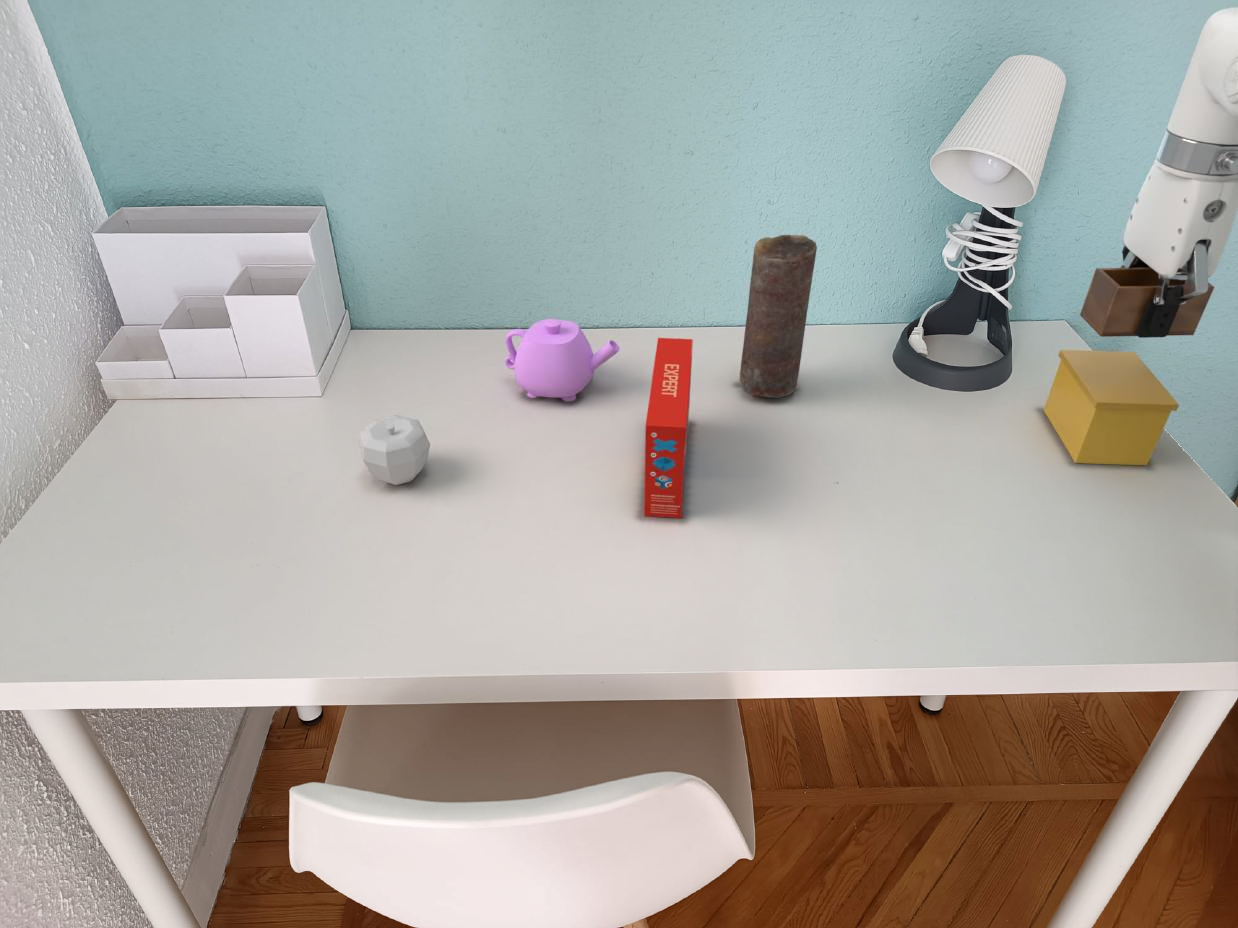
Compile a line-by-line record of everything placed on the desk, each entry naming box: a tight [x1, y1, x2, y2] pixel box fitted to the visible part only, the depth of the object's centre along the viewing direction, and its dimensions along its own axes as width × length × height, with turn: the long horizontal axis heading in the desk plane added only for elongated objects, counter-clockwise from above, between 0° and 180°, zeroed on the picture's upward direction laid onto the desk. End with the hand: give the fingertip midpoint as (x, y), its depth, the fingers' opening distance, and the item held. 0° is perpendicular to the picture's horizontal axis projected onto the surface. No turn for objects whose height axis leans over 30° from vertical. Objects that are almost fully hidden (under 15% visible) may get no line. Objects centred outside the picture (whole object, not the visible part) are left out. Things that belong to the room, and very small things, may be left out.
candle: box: [739, 234, 818, 399], centre depth 106 cm, size 8×7×20 cm
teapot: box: [504, 318, 621, 402], centre depth 110 cm, size 10×15×9 cm
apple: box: [357, 414, 431, 486], centre depth 96 cm, size 8×8×7 cm
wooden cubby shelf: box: [1079, 267, 1215, 338], centre depth 93 cm, size 10×5×6 cm, turn 91°
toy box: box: [643, 337, 694, 519], centre depth 96 cm, size 18×4×12 cm, turn 174°
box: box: [1043, 349, 1180, 466], centre depth 101 cm, size 12×9×8 cm
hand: (1137, 321), depth 95 cm, fingers closed on wooden cubby shelf, 5 cm apart
